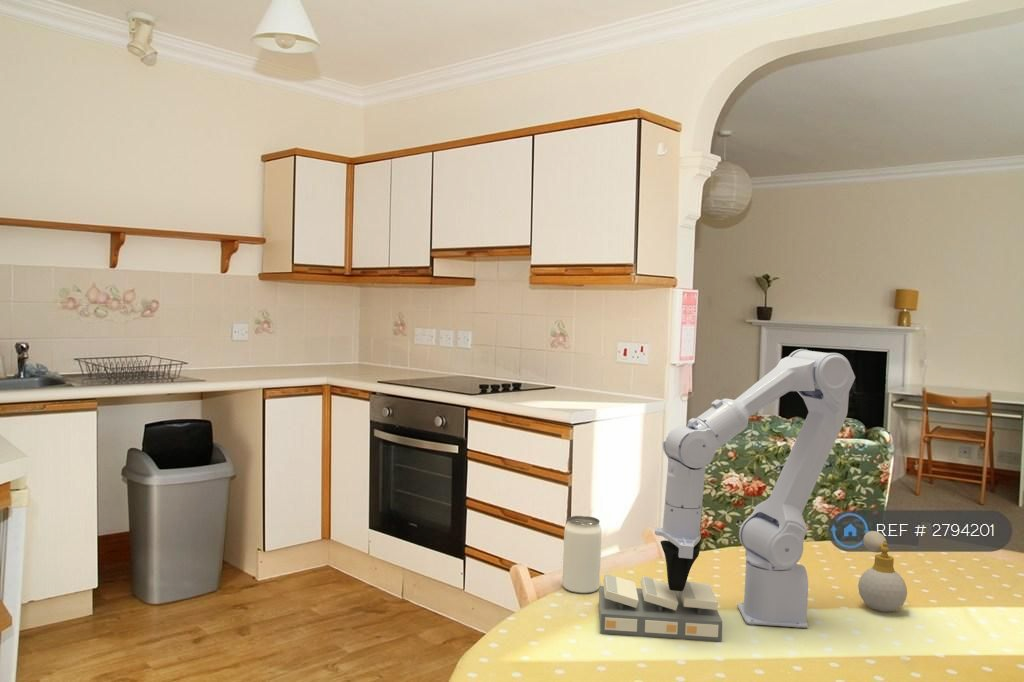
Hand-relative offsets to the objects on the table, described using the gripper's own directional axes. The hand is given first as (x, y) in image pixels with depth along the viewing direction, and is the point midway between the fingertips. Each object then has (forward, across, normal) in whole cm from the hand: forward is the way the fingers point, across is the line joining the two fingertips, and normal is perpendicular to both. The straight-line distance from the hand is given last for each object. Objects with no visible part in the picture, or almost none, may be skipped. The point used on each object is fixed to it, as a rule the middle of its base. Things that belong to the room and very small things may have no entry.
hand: (675, 589), depth 127 cm
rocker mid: (+1, 0, -3) cm, 3 cm away
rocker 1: (+1, 0, -9) cm, 9 cm away
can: (+6, -13, -14) cm, 20 cm away
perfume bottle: (+4, -13, +36) cm, 38 cm away
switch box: (+6, 0, -2) cm, 6 cm away
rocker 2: (+1, 0, +3) cm, 3 cm away
